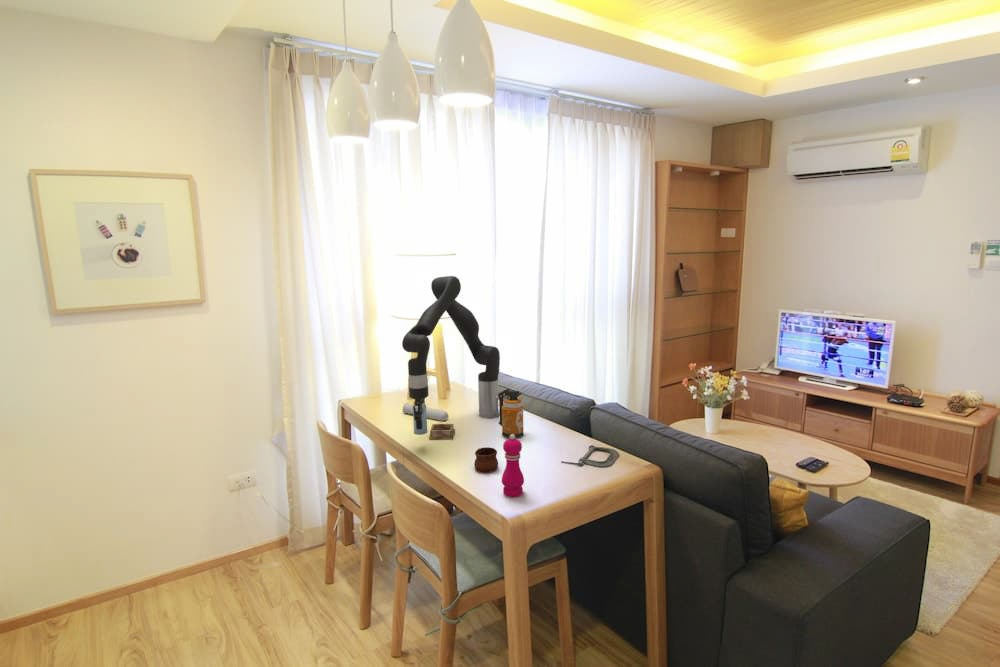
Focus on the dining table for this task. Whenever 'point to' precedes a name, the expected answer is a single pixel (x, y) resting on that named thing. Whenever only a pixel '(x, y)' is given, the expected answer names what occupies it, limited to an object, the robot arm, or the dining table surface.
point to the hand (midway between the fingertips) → (420, 426)
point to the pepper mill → (512, 468)
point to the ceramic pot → (486, 460)
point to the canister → (511, 413)
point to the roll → (424, 423)
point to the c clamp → (601, 464)
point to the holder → (442, 432)
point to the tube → (428, 412)
